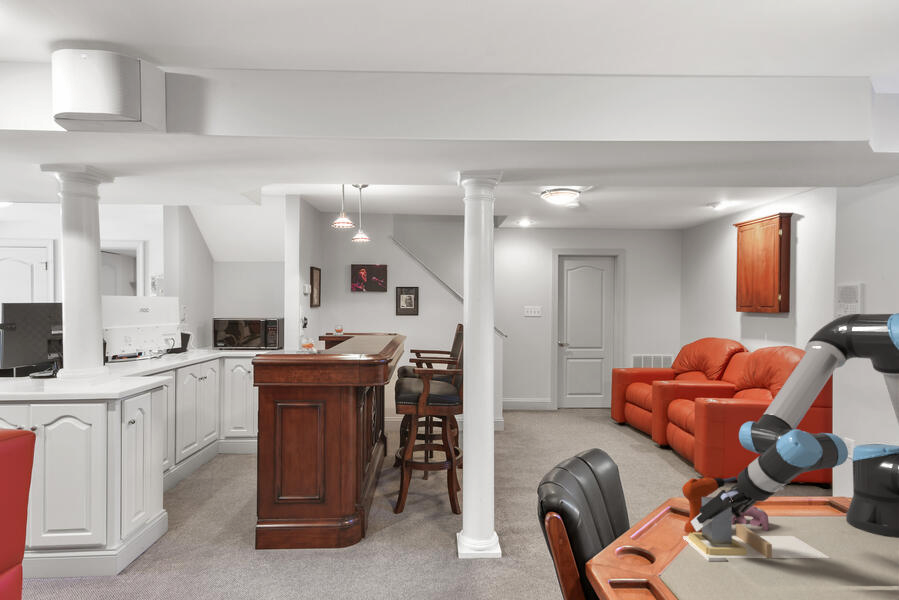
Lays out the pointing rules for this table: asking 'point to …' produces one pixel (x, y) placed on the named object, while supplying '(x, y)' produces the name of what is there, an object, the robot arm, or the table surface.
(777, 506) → the table surface
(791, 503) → the table surface
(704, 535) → the grey metal block
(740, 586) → the table surface
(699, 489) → the toy drill
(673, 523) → the table surface
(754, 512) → the video game controller
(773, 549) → the plate
